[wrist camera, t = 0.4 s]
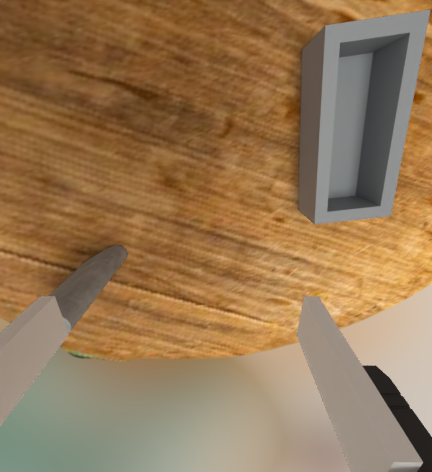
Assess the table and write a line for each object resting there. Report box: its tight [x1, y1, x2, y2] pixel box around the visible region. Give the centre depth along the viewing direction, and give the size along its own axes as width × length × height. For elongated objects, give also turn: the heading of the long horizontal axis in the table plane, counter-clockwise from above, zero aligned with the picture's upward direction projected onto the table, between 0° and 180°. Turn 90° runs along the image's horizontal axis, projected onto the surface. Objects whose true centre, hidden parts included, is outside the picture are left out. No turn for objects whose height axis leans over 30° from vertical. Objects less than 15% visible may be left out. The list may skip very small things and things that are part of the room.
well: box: [298, 10, 430, 224], centre depth 30 cm, size 22×10×7 cm, turn 7°
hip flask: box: [49, 245, 128, 333], centre depth 34 cm, size 16×4×20 cm, turn 126°
